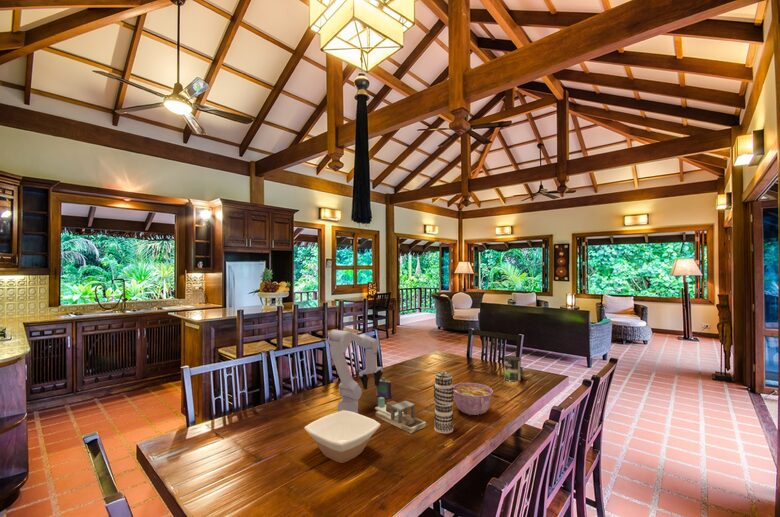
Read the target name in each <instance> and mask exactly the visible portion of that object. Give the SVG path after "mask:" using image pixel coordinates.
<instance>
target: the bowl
mask: <svg viewBox="0 0 780 517" xmlns="http://www.w3.org/2000/svg"><path fill="white" fill-rule="evenodd" d="M380 427H381V423H380V422H379V421H376V420H375V419H373V418H370V417H368V416H366V415H363V414H360V413H358V414H357V413H354V412H351V411H346V410H343V411H339V412H338V411H337V412H332V413H330V414H327V415H324V416H322V417H320V418H317V419H316V420H314V421H312V422H310V423H309V424H307V425H305V426H304V430H305V431H306V433H308V434H309V436H310V437H311V438H313V440H314V441H315V443H316V444H317V447H318V448H319V450H320V451H321V453H322V454H323V455H324V456H325V457H327V458H328V459H330V460H332V461H334V462H337V463H339V464H343V463H346V462H349V461H351V460H353V459H355V458H356V457H358V456H359V455H361V454H362V453H363V452H364V450H365V448H366V446H367V445H368V443H369V441H370V439H371V437H372V436H373V434H375V432H377V430H378V429H379V428H380Z"/></svg>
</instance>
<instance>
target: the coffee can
mask: <svg viewBox="0 0 780 517" xmlns="http://www.w3.org/2000/svg"><path fill="white" fill-rule="evenodd" d="M505 379H506V380H509V381H508V382H510V381H519V380H520V381H521V357H520V356H516V355H505V356H503V380H505ZM506 380H505V381H506ZM520 381H519V382H520Z"/></svg>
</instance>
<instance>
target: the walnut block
mask: <svg viewBox="0 0 780 517" xmlns="http://www.w3.org/2000/svg"><path fill="white" fill-rule="evenodd" d="M397 403H398V402H396V401H394V400H390V401H387V402H385V404H386V411H387V412H389V413H391V406H392V405H395V404H397ZM397 411H398V410H397V409H395V412H397Z"/></svg>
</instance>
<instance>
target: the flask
mask: <svg viewBox="0 0 780 517" xmlns="http://www.w3.org/2000/svg"><path fill="white" fill-rule="evenodd" d="M375 397H377V398H379V397H383V398H385V399H391V398H392V384H391V380H388V379H386V377H385V376H384V377H381V379H380V381H379V385H378V386H375Z"/></svg>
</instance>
